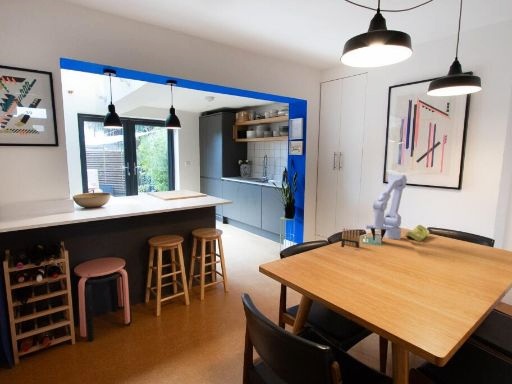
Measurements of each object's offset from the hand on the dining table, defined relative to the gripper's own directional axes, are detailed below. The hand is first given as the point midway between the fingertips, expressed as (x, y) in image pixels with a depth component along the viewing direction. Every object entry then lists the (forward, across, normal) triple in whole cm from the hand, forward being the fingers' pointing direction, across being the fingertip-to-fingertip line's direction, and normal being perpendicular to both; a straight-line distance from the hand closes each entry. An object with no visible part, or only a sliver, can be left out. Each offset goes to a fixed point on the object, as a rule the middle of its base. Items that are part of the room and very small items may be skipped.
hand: (377, 240), depth 185 cm
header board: (+2, -4, +1) cm, 4 cm away
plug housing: (+1, 0, 0) cm, 1 cm away
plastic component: (+3, +28, +26) cm, 38 cm away
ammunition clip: (+3, -16, -14) cm, 22 cm away
